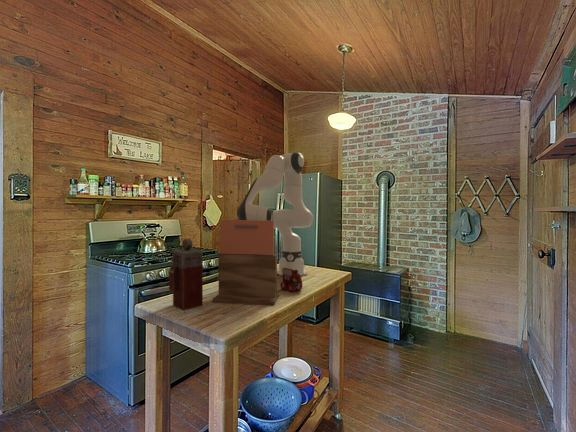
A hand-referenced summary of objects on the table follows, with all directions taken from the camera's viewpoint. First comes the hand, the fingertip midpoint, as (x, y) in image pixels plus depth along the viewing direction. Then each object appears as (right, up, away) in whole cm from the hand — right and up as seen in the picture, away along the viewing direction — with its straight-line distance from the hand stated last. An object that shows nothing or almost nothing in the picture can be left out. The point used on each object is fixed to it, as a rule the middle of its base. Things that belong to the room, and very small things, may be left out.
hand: (247, 236), depth 138 cm
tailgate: (0, -8, -2) cm, 8 cm away
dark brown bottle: (-25, -28, -10) cm, 39 cm away
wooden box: (0, -28, -1) cm, 28 cm away
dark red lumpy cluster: (+20, -28, +14) cm, 37 cm away
